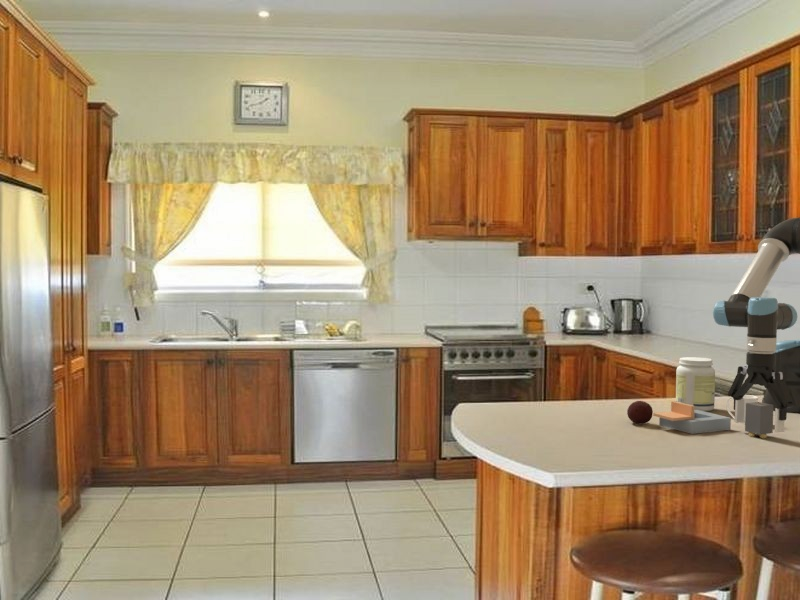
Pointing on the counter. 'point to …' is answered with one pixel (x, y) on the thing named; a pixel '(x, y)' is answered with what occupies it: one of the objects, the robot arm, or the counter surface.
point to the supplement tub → (696, 383)
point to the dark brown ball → (640, 412)
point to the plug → (759, 419)
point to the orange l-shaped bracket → (677, 412)
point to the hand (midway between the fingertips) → (758, 426)
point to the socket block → (699, 423)
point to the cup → (746, 400)
